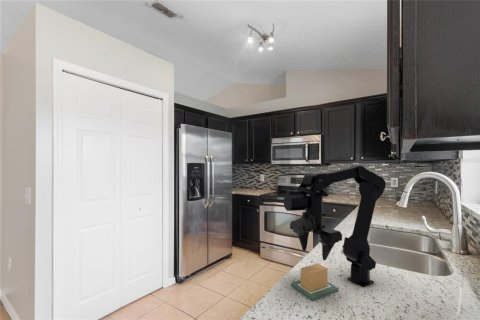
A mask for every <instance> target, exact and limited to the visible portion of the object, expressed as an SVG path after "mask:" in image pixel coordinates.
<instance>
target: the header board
mask: <svg viewBox="0 0 480 320" xmlns="http://www.w3.org/2000/svg"><path fill="white" fill-rule="evenodd" d="M290 287H292V288H293V289H295V291H297V292H298V293H300V294H301V295H303V296H305V298H307V299H309V300H310V301H311V302H314V301H317V300H318V299H321V298H325V297H328V296H330V295H333V294H335V293H338V292H339V287H337V286H335V285H334V284H331V283H330V282H328V286H326V287H323V288H320V289H317V290H314V291H311V292H310V291H308V290H307V289H305V288H304V287H302V286H301V279H299V280H298V281H294V282H291V283H290Z"/></svg>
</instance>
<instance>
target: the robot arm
mask: <svg viewBox="0 0 480 320" xmlns="http://www.w3.org/2000/svg"><path fill="white" fill-rule="evenodd" d="M349 179H353V180H354V182H355V183H357V184H358V192H359V195H360V201H359V205H358V210H357V213H356V218H355V223H354V226H353V229H352V233H351V235H350V236H349V237H346V236H345V238H344V241H343V234H342V232H341V230H340V231H339V230H337V229H334V228H328V229H326V224H324V220H323V218H324V217H326V212H324V209H323V207H324V206H323V203H324V202H323V199H324V198H325V197H329V194H328V193H327V191H325V189H326V188H328V187H330V186H331V185H332V184H335V183H339V182H342V181H347V180H349ZM386 183H387V182H386V181H385V179H384V178H383V176H379V175H378V174H377V173H374V172H373V171H372V170H368V169H367V168H366V167H365V166H364V165H351V166H348V167H344V168H339V169H335V170H331V171H327V172H307V173H306V174H304V176H303V178H302V181H301V182H300V184H299V186H298V187H297V188H296V190H291V189H290V190H289V189H287V190H286V193H285V195H284V198H283V207H284V209H285V211H286V212H291V211H292V212H293V211H295V212H296V211H302V213H301V217H299V218H297V219H294V220H291V221H290V224H289V229H290V230H291V231H292V232H293V233H294V234H295V235H296V236H297V237H298V240H299V242H300V245H301V249H302V251H303V252H305V251H307V248H308V247H307V246H308V240H309V234H310V233H314V234H317V235H319V239H320V240H318V241H319V243H320V244H321V251H322V252H321V254H322V255H321V256H322V260H323V261H326V260H327V258H328V257H329V255H330V253H331V251H332V249H333V247H334V246H335V244H337V243H339V242H340V241H343V245H342V247H341V248H342V252H343V254H344V257H345V259H346V261H347V262H350V276H349V277H347V280H348V281H350V282H352V283H354V284H355V285H357V286H360V287H362V288H365V287H367V286H370V285H373V284H375V281H374V280H371V274H370V273H371V271H372V270H373V269H376V264H377V261H375V260H374V259H373V257H371V255H370V253H371V252H370V251H371V247H370V244H369V241H368V240H369V239H368V237H369V232H370V228H371V224H372V219H373V215H374V212H375V206H376V203H377V201H378V200H379V198H380V197H382V196H383V194H384V192H385V189H386V186H387V185H386ZM323 197H324V198H323Z"/></svg>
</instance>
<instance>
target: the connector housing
mask: <svg viewBox="0 0 480 320" xmlns="http://www.w3.org/2000/svg"><path fill="white" fill-rule="evenodd" d="M328 270H329V269H328V267H326V266H324V265H322V264H320V263H314V264H310V265H307V266H303V267H300V280H301V286H302V287H304V288H305V289H307V290H308V291H310V292H311V291H314V290H317V289H320V288H323V287H326V286H328V283H329V282H328V277H329V276H328Z"/></svg>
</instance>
